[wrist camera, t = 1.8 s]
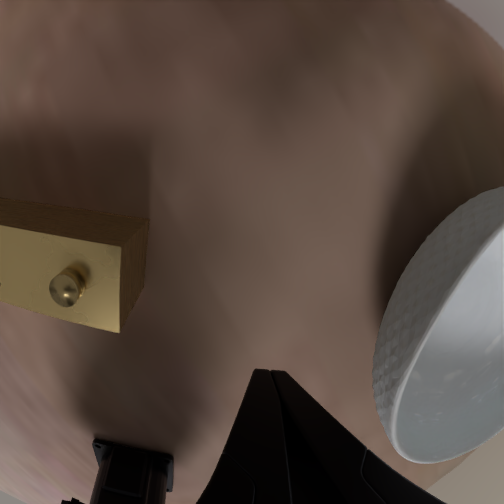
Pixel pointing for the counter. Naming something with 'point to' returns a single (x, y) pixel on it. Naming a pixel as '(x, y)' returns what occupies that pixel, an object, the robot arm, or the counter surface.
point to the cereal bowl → (446, 339)
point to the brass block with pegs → (72, 262)
